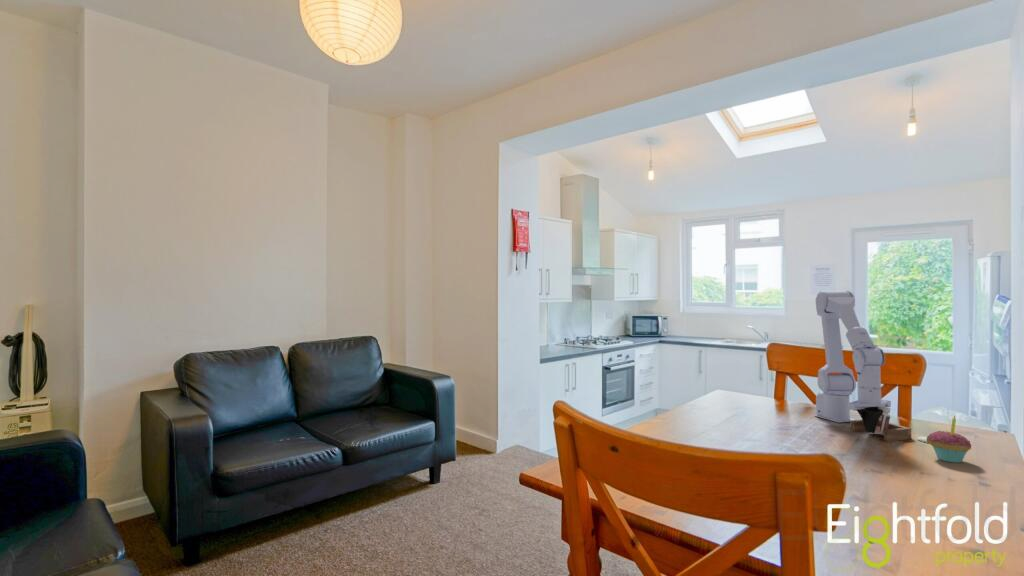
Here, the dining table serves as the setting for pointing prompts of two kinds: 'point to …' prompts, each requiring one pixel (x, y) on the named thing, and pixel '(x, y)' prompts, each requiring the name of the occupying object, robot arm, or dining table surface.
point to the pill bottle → (883, 421)
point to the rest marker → (922, 439)
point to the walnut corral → (886, 431)
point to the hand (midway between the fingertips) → (870, 432)
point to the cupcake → (949, 444)
